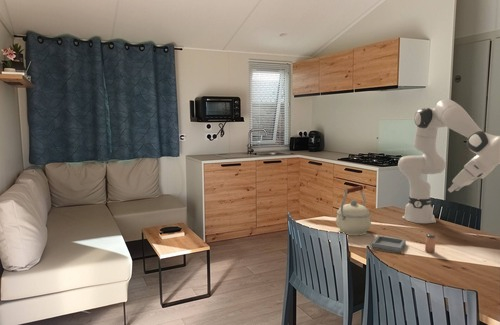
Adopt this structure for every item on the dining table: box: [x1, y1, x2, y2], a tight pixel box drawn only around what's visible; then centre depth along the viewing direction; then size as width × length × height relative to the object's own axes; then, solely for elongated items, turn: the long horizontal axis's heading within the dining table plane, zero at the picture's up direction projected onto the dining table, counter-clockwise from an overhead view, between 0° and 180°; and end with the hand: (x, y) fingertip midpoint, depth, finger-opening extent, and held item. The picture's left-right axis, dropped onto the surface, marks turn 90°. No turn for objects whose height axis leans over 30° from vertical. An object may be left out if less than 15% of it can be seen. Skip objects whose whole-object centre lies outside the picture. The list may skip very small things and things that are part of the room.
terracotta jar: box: [424, 233, 436, 254], centre depth 175 cm, size 4×4×8 cm
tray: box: [371, 234, 407, 254], centre depth 183 cm, size 13×13×2 cm
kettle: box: [335, 185, 372, 237], centre depth 206 cm, size 25×18×25 cm
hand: (452, 190), depth 168 cm, fingers open, 8 cm apart
